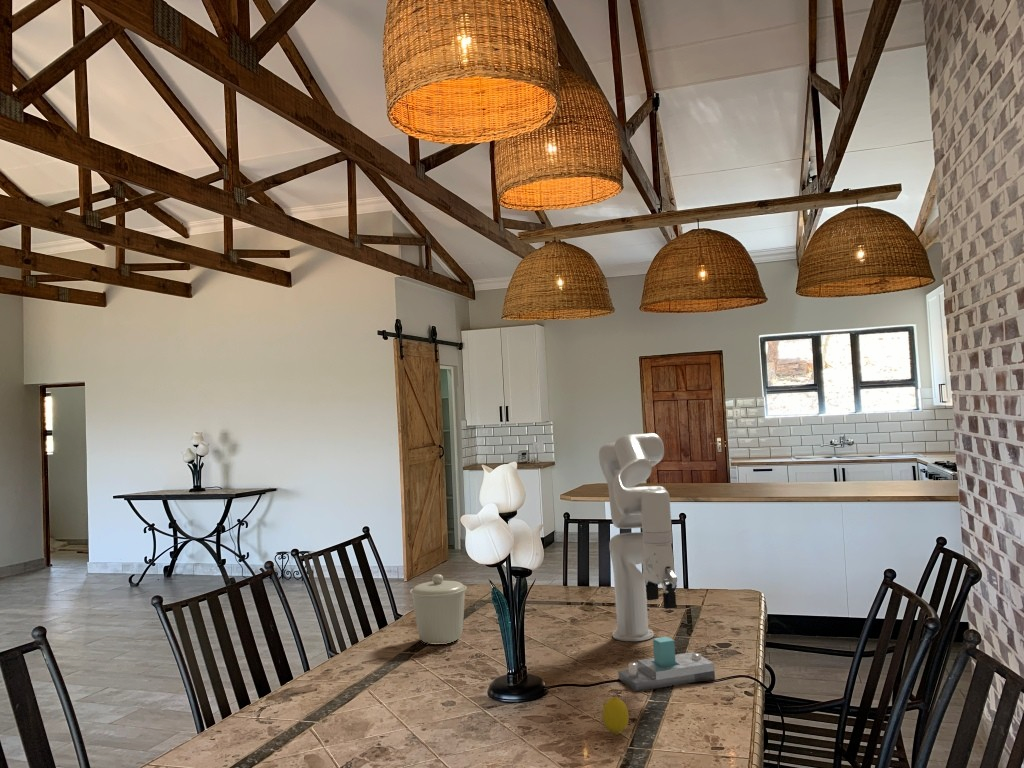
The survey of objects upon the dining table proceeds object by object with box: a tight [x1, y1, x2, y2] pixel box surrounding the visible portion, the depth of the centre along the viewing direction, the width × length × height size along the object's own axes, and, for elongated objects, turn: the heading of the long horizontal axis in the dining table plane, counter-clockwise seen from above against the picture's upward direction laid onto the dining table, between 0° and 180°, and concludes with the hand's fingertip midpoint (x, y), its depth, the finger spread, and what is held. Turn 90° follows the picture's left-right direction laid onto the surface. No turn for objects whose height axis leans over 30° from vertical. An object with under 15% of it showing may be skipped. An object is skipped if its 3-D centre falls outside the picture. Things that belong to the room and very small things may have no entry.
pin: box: [652, 636, 676, 668], centre depth 205 cm, size 4×4×10 cm
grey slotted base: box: [617, 651, 716, 692], centre depth 205 cm, size 11×22×5 cm, turn 106°
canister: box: [409, 573, 468, 643], centre depth 253 cm, size 18×18×21 cm
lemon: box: [602, 696, 630, 736], centre depth 171 cm, size 6×6×8 cm
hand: (661, 603), depth 206 cm, fingers open, 9 cm apart
